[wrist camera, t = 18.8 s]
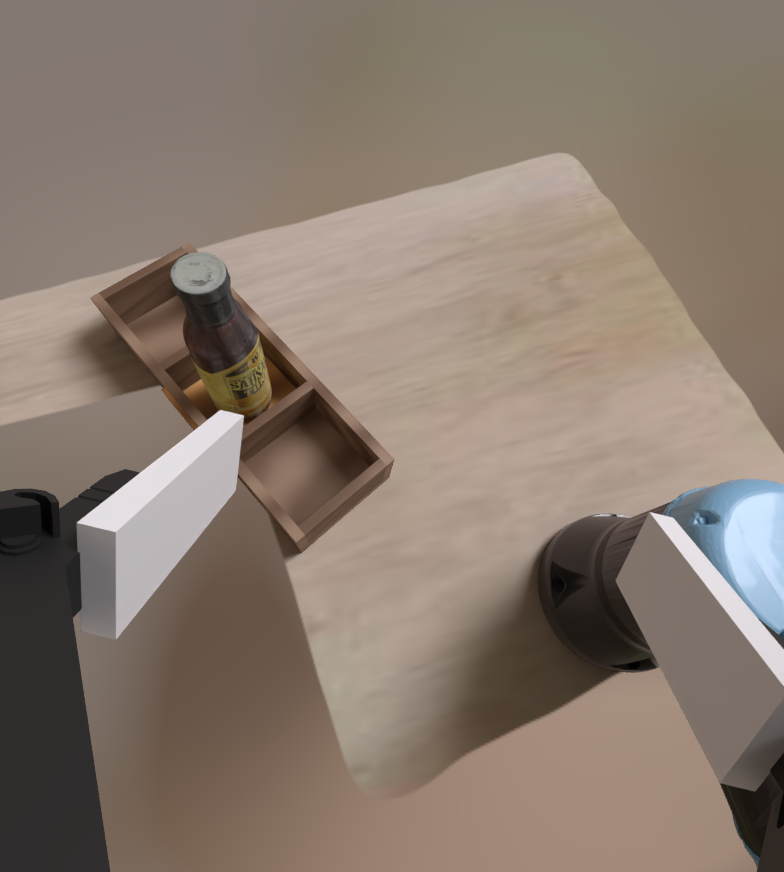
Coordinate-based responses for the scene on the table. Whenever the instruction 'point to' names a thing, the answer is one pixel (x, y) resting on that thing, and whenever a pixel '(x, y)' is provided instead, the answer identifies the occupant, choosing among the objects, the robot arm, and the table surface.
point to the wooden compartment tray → (271, 431)
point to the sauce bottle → (221, 337)
